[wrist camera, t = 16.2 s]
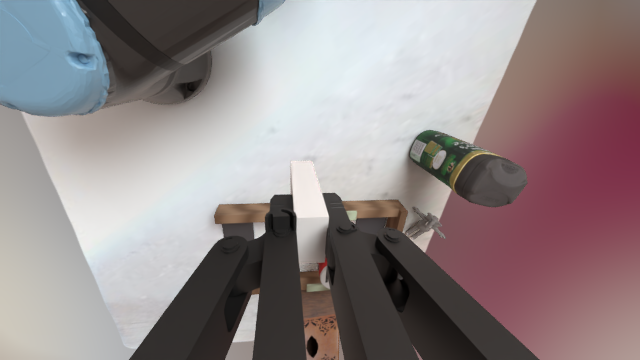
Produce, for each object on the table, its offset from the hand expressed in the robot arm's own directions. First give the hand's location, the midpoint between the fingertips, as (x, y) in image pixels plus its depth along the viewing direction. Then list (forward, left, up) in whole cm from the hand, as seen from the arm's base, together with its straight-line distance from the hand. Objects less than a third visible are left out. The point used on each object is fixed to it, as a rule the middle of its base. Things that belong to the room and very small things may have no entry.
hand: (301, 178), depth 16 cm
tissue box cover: (+6, -59, -29) cm, 66 cm away
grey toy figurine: (+33, -26, -29) cm, 51 cm away
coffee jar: (+30, -7, -29) cm, 42 cm away
